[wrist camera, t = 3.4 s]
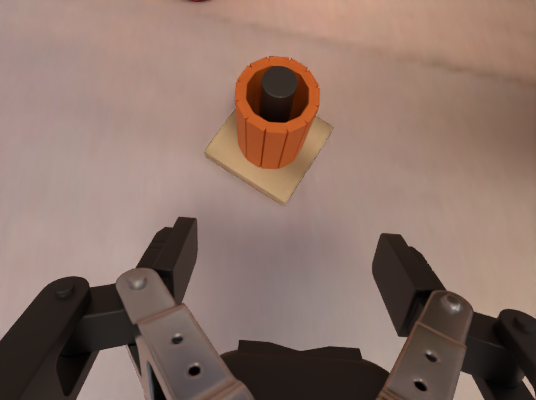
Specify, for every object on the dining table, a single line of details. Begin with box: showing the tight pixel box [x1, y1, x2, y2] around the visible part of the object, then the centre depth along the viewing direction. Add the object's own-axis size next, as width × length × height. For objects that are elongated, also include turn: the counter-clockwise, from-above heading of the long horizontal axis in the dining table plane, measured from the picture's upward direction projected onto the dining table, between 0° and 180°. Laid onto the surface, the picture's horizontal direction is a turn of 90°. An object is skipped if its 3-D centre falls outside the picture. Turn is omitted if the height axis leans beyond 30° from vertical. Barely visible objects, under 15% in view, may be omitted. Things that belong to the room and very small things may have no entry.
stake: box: [204, 66, 334, 206], centre depth 27 cm, size 9×9×11 cm
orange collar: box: [235, 56, 320, 169], centre depth 27 cm, size 6×6×8 cm
